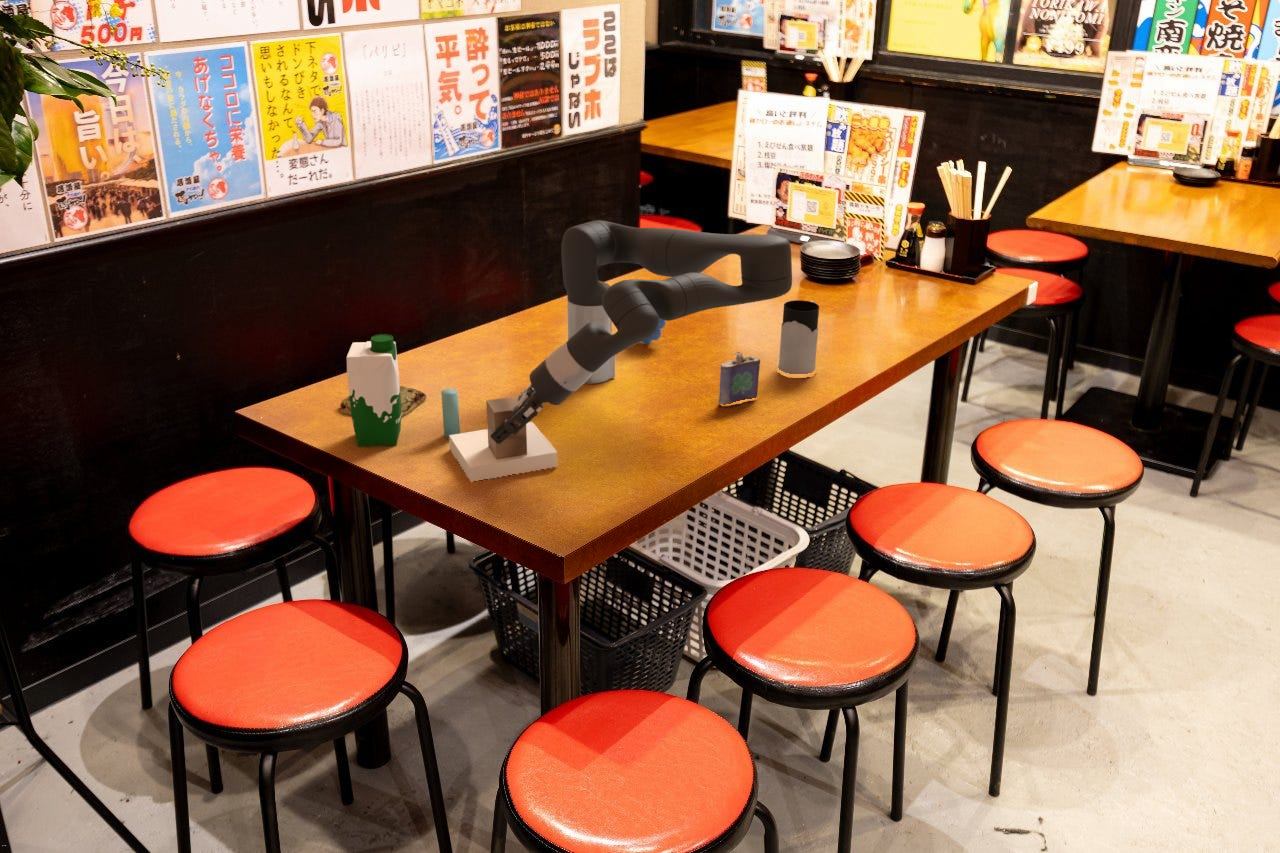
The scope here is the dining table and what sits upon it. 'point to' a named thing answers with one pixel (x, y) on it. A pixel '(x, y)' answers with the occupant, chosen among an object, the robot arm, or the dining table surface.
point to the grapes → (656, 332)
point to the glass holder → (799, 337)
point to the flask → (739, 379)
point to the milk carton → (374, 391)
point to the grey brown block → (496, 417)
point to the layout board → (484, 465)
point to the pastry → (408, 401)
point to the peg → (450, 412)
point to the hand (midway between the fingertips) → (500, 429)
